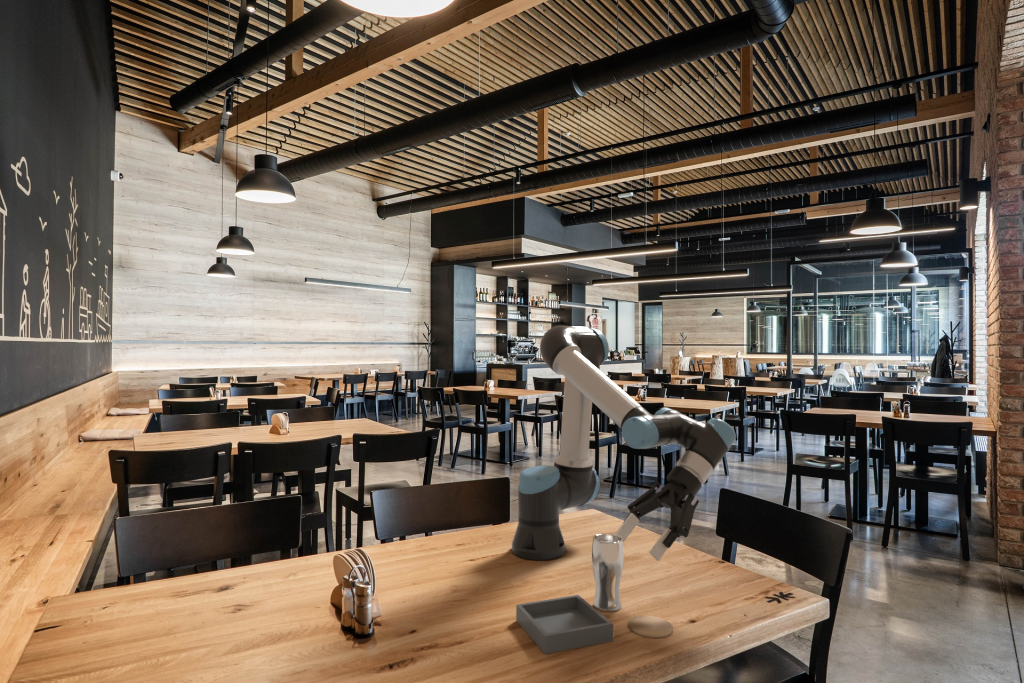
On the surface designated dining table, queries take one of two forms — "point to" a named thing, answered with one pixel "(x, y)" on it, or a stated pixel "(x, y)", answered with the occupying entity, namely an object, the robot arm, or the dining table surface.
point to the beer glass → (607, 570)
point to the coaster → (650, 626)
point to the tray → (563, 623)
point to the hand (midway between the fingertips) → (635, 547)
